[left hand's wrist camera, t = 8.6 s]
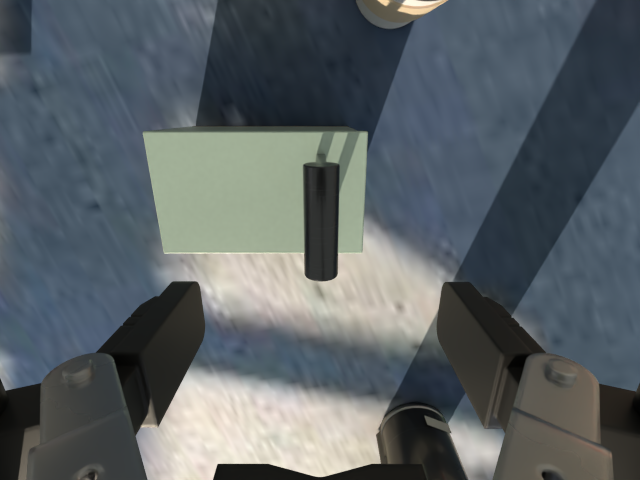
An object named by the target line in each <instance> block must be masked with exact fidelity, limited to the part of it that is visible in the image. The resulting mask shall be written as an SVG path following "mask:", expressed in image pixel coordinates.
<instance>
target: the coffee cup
mask: <svg viewBox="0 0 640 480" xmlns="http://www.w3.org/2000/svg"><path fill="white" fill-rule="evenodd" d="M446 1H447V0H356V3H357V6H358V8H359V10H360V11H361V13H362V14H363V16H364V17H365V18H366V19H367V20H368V21H369V22H371V23H372V24H374V25H376V26H378V27H381V28H385V29H395V28H399V27H402V26H404V25H406V24H408V23H410V22H411V21H413V20H416V19H418V18H420V17H422V16H423V15H425V14H427V13H428V12H430V11H431V10H433V9H435V8H436V7H438V6H439V5H441V4H442V3H444V2H446Z"/></svg>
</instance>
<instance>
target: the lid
mask: <svg viewBox="0 0 640 480" xmlns="http://www.w3.org/2000/svg"><path fill="white" fill-rule="evenodd" d="M143 136H144V142H145V148H146V154H147V159H148V165H149V171H150V176H151V182H152V188H153V193H154V199H155V205H156V211H157V216H158V222H159V228H160V233H161V239H162V245H163V250H164V253H304V266H305V276H306V277H307V278H308V279H310V280H314V281H329V280H332V279H334V278H335V277H336V276H337V274H338V253H362V248H363V227H364V206H365V185H366V164H367V143H368V132H367V131H144V132H143Z"/></svg>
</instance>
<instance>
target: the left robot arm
mask: <svg viewBox="0 0 640 480" xmlns="http://www.w3.org/2000/svg"><path fill="white" fill-rule="evenodd" d="M204 333H205V320H204V313H203V305H202V298H201V291H200V286H199V284H198V282H196V281H174V282H172V283H171V284H170V285H169V286H168V287H167V288H166V289H165V290H164V291H163V293H162V294H161V295H160V296H155V297H153V298H152V299H150V300H148V301H147V302H145V303H143V304H141V305H140V306H139V307H138V308H137V309H136V310H135V311H134V313H133V314H132V315H131V317H129V318H128V319H127V320H126V321H125V322H124V323H123V326H120V327H119V329H118V330H117V331H116V332H115V333H114V334H113V335H112V336H111V337H110V338H109V339H108V340H107V341H106V342H105V343H104V345H103V346H102V347H101V348H100V349H99V350H98V351H97V352H96V353H90V354H85V355H81V356H78V357H75V358H72V359H70V360H68V361H66V362H64V363H62V364H60V365H59V366H57V367H56V368H54V369H53V370H52V371H51V372H49V373H48V374H47V375H46V377H45V378H44V379H43V381H42V383H40V384H35V385H31V386H26V387H21V388H17V389H12V390H7V391H5V389H4V386H3V384H2V382H1V379H0V480H147V476H146V473H145V469H144V466H143V462H142V458H141V455H140V451H139V447H138V444H137V440H136V437H135V436H136V434H137V432H138V431H139V429H140V427H158V426H159V424H160V422H161V421H162V419H163V417H164V415H165V413H166V411H167V409H168V407H169V405H170V403H171V401H172V399H173V397H174V395H175V393H176V392H177V390H178V388H179V386H180V384H181V382H182V380H183V378H184V376H185V374H186V372H187V370H188V368H189V366H190V364H191V362H192V361H193V359H194V357H195V355H196V353H197V351H198V349H199V347H200V345H201V343H202V341H203V338H204ZM437 335H438V339H439V342H440V344H441V346H442V348H443V350H444V352H445V354H446V356H447V358H448V359H449V361H450V363H451V365H452V367H453V369H454V371H455V373H456V375H457V377H458V379H459V381H460V382H461V384H462V386H463V388H464V390H465V392H466V394H467V396H468V398H469V400H470V402H471V403H472V405H473V407H474V409H475V411H476V413H477V415H478V417H479V419H480V421H481V423H482V424H483V426H484V428H485V429H503V430H504V432H505V437H504V440H503V444H502V447H501V451H500V455H499V458H498V462H497V466H496V469H495V473H494V476H493V480H640V384H639V386H638V389H637V391H636V392H635V391H630V390H626V389H621V388H616V387H612V386H607V385H602V384H599V383H598V381H597V379H596V378H595V377H594V375H593V374H592V373H591V372H589V371H588V370H587V369H586V368H584V367H583V366H581V365H580V364H578V363H576V362H574V361H572V360H570V359H568V358H565V357H562V356H559V355H555V354H550V353H546V352H545V351H544V350H543V349H542V348H541V347H540V346H539V345H538V343H537V342H536V341H535V340H534V339H533V338H532V337H531V336H530V335H529V334H528V333H527V332H526V331H525V330H524V329H523V328H522V327H520V326H519V323H518V322H517V321H516V320H515V319H514V318H511V315H510V314H509V313H508V312H507V311H506V310H505V309H504V308H503V307H502V306H501V305H500V304H498V303H496V302H495V301H493V300H491V299H489V298H488V297H483V296H482V295H481V294H480V293H479V292H478V291H477V290H476V289H475V287H474V286H473V285H472V284H471V283H470V282H445V283H444V284H443V286H442V291H441V298H440V305H439V312H438V319H437ZM450 433H451V431H450V428H449V426H448V424H446V421H445V419H444V416H443V415H442V414H441V412H440V411H439V410H437V409H436V408H434V407H432V406H430V405H427V404H421V403H411V404H405V405H402V406H399V407H397V408H395V409H393V410H392V411H391V412H389V413H388V414H387V415H386V416H385V418H384V419H383V421H382V423H381V428H380V432H379V433H378V434H377V435H376V437H377V443H378V448H379V454H380V460H381V464H370V465H366V466H363V467H359V468H355V469H352V470H348V471H344V472H341V473H337V474H333V475H330V476H326V477H314V476H310V475H307V474H303V473H299V472H296V471H292V470H288V469H285V468H281V467H277V466H274V465H270V464H218V465H217V468H216V472H215V475H214V478H213V480H468V477H467V475H466V472H465V470H464V467H463V465H462V463H461V460H460V458H459V455H458V453H457V450H456V448H455V445H454V443H453V440H452V438H451V435H450Z"/></svg>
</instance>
